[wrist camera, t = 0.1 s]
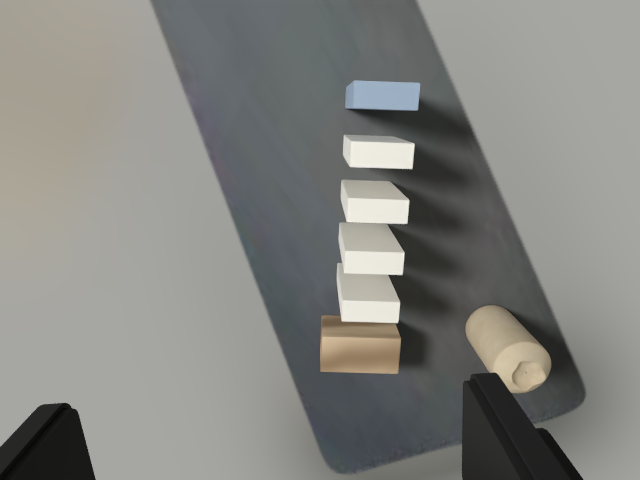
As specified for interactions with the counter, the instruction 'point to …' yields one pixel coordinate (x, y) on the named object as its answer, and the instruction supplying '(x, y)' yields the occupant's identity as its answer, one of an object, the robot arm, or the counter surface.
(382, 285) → the domino
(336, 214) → the counter surface
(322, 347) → the end block
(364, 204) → the domino
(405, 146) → the domino
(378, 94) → the domino
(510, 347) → the candle
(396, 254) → the domino
